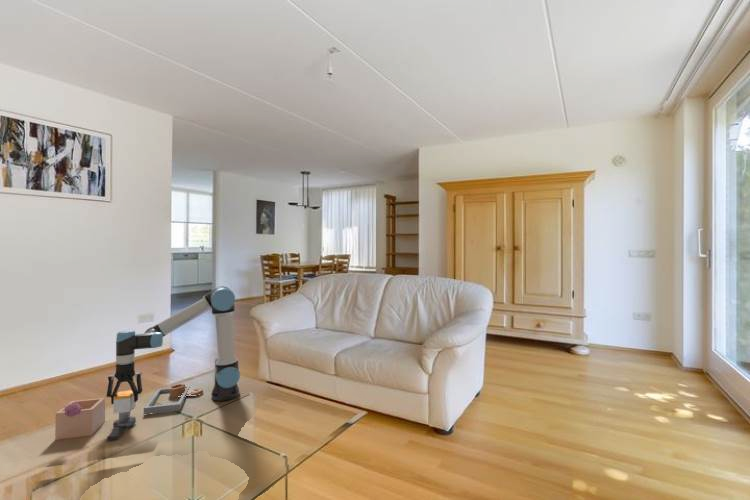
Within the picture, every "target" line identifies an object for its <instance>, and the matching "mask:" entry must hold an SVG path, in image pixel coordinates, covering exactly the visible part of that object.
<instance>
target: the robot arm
mask: <svg viewBox="0 0 750 500" xmlns="http://www.w3.org/2000/svg"><path fill="white" fill-rule="evenodd" d="M235 301H236V296H235V293H234V291H232V290H231V289H230V288H229V287H227V286H222V285H221V286H217V287H215V288H214V289H213V290H211V291H210V292H208V293H206V294H205V295H203V296H202V299H199V300H198V301H196V302H194V303H193V304H191V305H189V306H187V307H185V308H184V309H182V310H180V311H178V312H176V313H175V314H173V315H172V316H170V317H168V318H166V319H164V320H162V321H160V322H159V323H157V324H156V325H154V326H150V327H149V328H147V329H146V330H145V331H144V333H136V331H135V330H133V329H127V330H125V329H124V330H119V331H118V332H117V333H116V341H115V349H116V350H115V363H116V364H115V373H114V374H110V375H109V376H108V377H107V379H108V384H107V385H108V386H107V391H106V397H107V398H110V399H111V400H110V401H111V402H110V405H112V406H113V405H114V396H115V395H116V394H117V393H118V392H119V388H120V386H121V384H122V383H124V382H125V383H128V385H129V386H130V390H132V392H133V394H134V395H133V396H132V410H135V408H136V407H137V406H136V402H138V400H139V395H140V394H141V393H142V392H143V384H142V375H143V373H142V372H136V371H135V360H136V359H135V353H136V352H135V351H136V350H143V349H144V350H145V349H157V348H161V347H162V346H163V343H164V342H163V341H164V337H165V336H167V335H169V334H171V333H173V332H174V331H176V330H177V329H179V328H181V327H182V326H184V325H187V324H188V323H189V322H191V321H193V320H194V319H196V318H198V317H200V316H202V315H203V314H205V313H207V312H208V311H211V314H212V315H213V316H214V319H215V330H216V347H217V356H216V357H215V358H214V385H213V388H212V390H211V393H210V394H211V396H210V397H211V399H212V400H213V401H220V402H221V401H228V400H232V399H233V400H234V398H237V397H238V396H239V395H240V388H239V385H238V382H239V381H240V378H241V372H240V369H239V368H240V367H239V359H238V358H237V355H236V353H235V337H234V336H235V335H234V322H233V320H234V319H233V313H235V311H236V308H235V306H236V305H235ZM134 376H135V379H136V380H135V381H136V384H135V381H134ZM115 378H116V380H117V381H116V383H115V387H114V381H115ZM113 387H114V389H113Z"/></svg>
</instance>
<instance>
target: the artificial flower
mask: <svg viewBox="0 0 750 500" xmlns="http://www.w3.org/2000/svg"><path fill="white" fill-rule="evenodd" d="M67 404H68V406H66V405H65V406H63V407H64V408H65V415H67V417H73V416H75V417H76V415H78V414H80V412H81V411H82V410H81V409H83V408H82V407H80V406H79V404H78V402H77V403H76V402H75V403H73V404H69V403H67Z"/></svg>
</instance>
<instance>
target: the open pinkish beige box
mask: <svg viewBox="0 0 750 500" xmlns="http://www.w3.org/2000/svg"><path fill="white" fill-rule="evenodd" d="M75 402H76V403H77V402H78V404H79V406H80V407H82V408H83V409H81V410H82V411H81V412H80V414H78V415H76V417H75V416H73V417H67V415H65V408H64V407H65V406H68V404H73V403H75ZM65 406H63V407H62V408H61V409H60V410H58V411H57V412H55V425H54V426H55V430H54V431H55V432H54V433H55V436H54V437H55V439H54V440H55V441H58V440H65V439H74V438H79V437H80V438H81V437H87V436H88V437H90V436H93V435H94V434H95V433H96V432H97V431H98V430H99V429H100V428H101V427H102V425H103V424H104V423H105V422H106V397H99V398H89V399H79V400H71V401H70V402H69V403H67V404H66V405H65Z"/></svg>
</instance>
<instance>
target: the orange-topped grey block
mask: <svg viewBox="0 0 750 500" xmlns="http://www.w3.org/2000/svg"><path fill="white" fill-rule="evenodd" d="M133 395H134V394H133V392H132V389H129V390H121V391H119V390H118V391H117V393H116V395H115V396H114V405H113V404H112V406H113V410H112V411H113V412H112V413H113V414H119V413H124V412H130V413H131V411H132V410H133V409H132V396H133Z"/></svg>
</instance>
